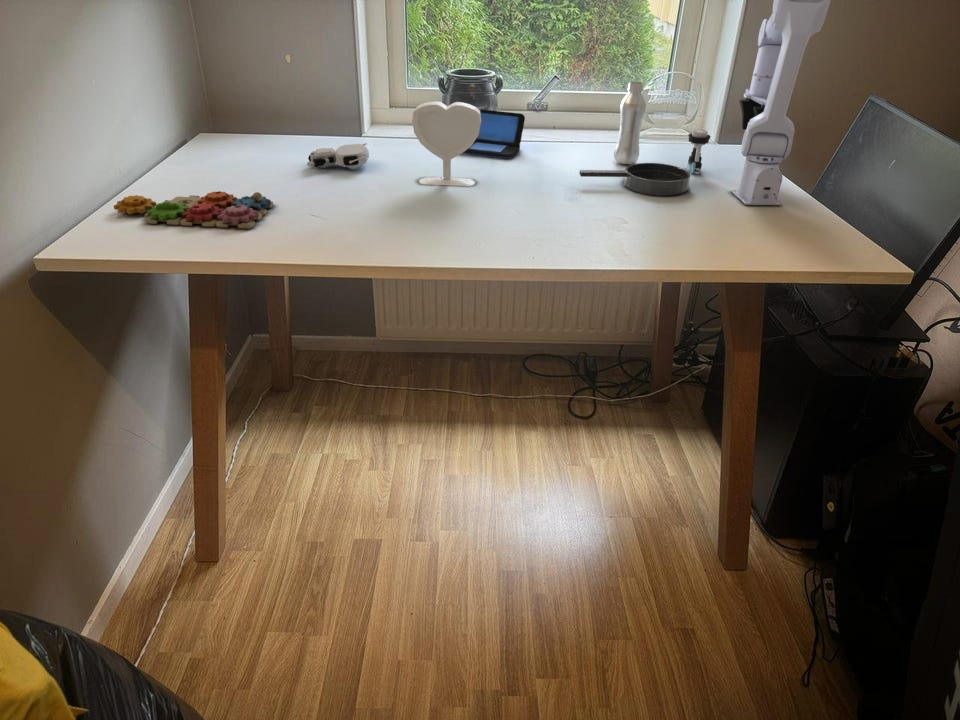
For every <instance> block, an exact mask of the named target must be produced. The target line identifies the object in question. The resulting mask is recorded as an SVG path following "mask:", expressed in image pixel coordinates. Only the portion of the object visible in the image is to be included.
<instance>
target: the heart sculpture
mask: <svg viewBox="0 0 960 720" xmlns="http://www.w3.org/2000/svg"><path fill="white" fill-rule="evenodd" d="M479 109H480V108H478V107H476V106H474V105H473V104H470V103H466V102H462V101H455V102H453V103H451V104H449V105H446V104H445V103H443V102H441V101H438V100H435V101H434V100H433V101H428V102H424V103H421V104H419V105H417V106H416V107H415V108H414V110H413V112H412V120H411V122H412V123H411V124H412V128H413V133H414V136H415V137H416V138H417V141H419V143H420V145H422V146H423V147H424V149H426V150H427V151H428V152H429V153H431V154H433V155H435V156H436V157H437V158H439V159H440V160H441V161H442V177H423V178H421V179H419V180H418V183H419V184H421V185H427V186H429V185H430V186H456V187H472V186H474V185H475V184H476V182H475V181H474V179H470V178H459V177H452V161H451V160H453V159H454V158H457V157H458V156H461V155H462V154H464V153H463V152H464V151H466V150H467V149H468V148H469V147H471V146H472V144H473V143H474V141H475V140H476V138H477V137H478V135H479V130H480V124H481V115H480V110H479Z"/></svg>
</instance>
